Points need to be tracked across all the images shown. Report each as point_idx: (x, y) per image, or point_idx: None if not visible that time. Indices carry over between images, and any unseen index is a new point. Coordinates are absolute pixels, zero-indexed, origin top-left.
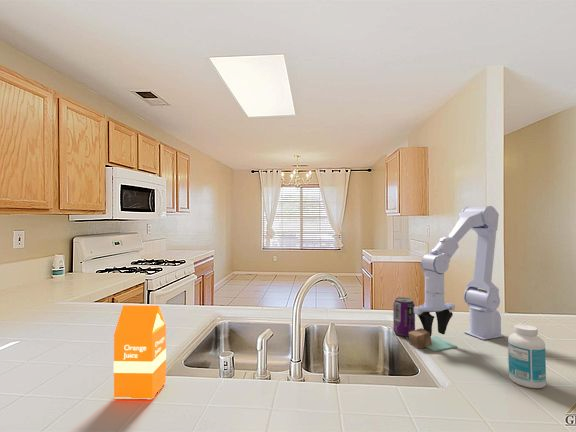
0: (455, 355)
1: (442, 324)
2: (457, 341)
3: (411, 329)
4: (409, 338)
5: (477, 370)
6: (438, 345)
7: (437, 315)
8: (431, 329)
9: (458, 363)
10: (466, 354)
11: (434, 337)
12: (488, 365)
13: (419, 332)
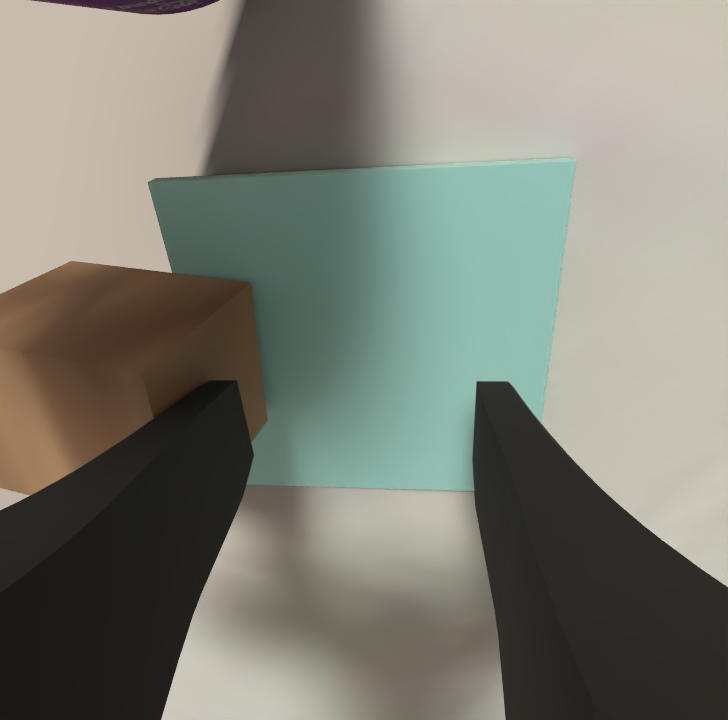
0: (362, 571)
1: (500, 568)
2: (720, 369)
3: (130, 4)
4: (7, 295)
5: (327, 704)
6: (350, 425)
7: (541, 629)
8: (210, 555)
9: (283, 638)
10: (466, 586)
11: (516, 201)
12: (450, 699)
13: (60, 447)
